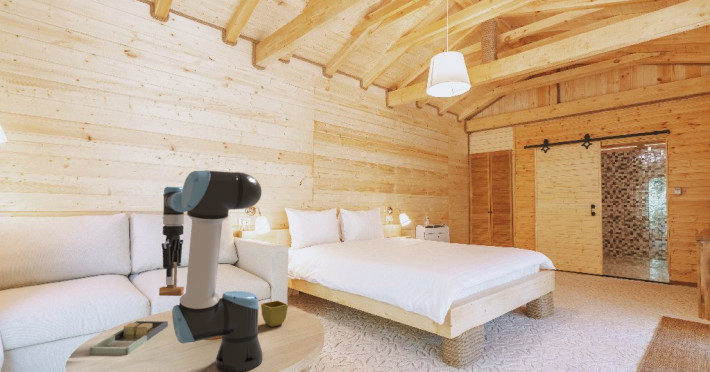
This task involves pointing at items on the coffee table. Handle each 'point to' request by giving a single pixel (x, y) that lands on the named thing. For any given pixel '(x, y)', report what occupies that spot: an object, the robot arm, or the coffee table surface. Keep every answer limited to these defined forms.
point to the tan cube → (130, 330)
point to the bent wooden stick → (172, 286)
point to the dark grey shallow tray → (156, 328)
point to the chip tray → (102, 348)
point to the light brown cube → (143, 329)
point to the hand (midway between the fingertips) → (171, 283)
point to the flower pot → (274, 312)
